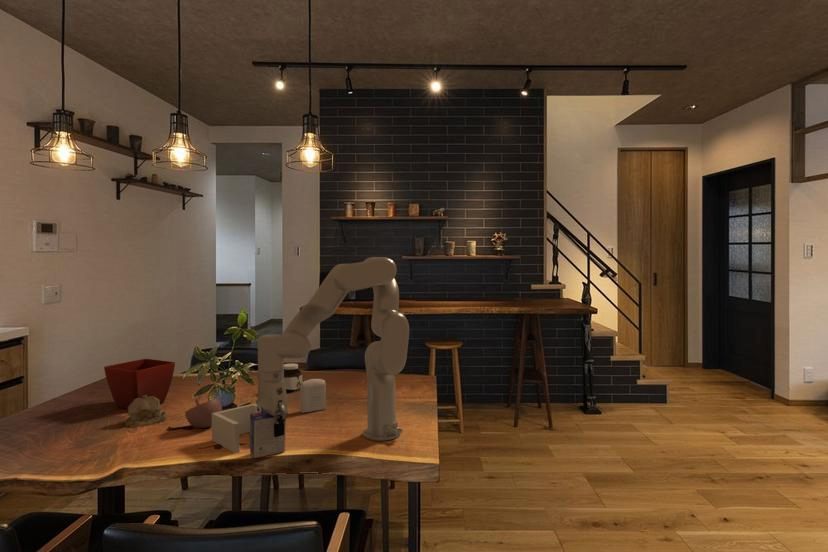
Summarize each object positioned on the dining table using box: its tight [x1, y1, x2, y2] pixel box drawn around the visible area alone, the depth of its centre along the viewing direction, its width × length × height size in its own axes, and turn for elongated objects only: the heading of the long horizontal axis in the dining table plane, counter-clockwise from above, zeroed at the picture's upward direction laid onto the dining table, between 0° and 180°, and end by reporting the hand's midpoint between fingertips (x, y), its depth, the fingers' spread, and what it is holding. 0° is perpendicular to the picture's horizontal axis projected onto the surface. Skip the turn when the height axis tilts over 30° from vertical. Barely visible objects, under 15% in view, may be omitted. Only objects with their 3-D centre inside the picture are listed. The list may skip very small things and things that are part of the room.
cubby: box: [211, 402, 259, 454], centre depth 164 cm, size 16×16×9 cm
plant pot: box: [103, 358, 176, 409], centre depth 205 cm, size 19×19×17 cm
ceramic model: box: [123, 395, 168, 427], centre depth 184 cm, size 14×11×10 cm
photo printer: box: [299, 378, 327, 414], centre depth 196 cm, size 10×4×12 cm, turn 123°
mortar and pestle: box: [184, 394, 223, 429], centre depth 177 cm, size 12×12×11 cm
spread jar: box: [283, 363, 303, 393], centre depth 228 cm, size 12×11×12 cm
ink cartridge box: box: [249, 406, 287, 459], centre depth 152 cm, size 10×6×14 cm, turn 123°
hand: (271, 432), depth 152 cm, fingers open, 8 cm apart
